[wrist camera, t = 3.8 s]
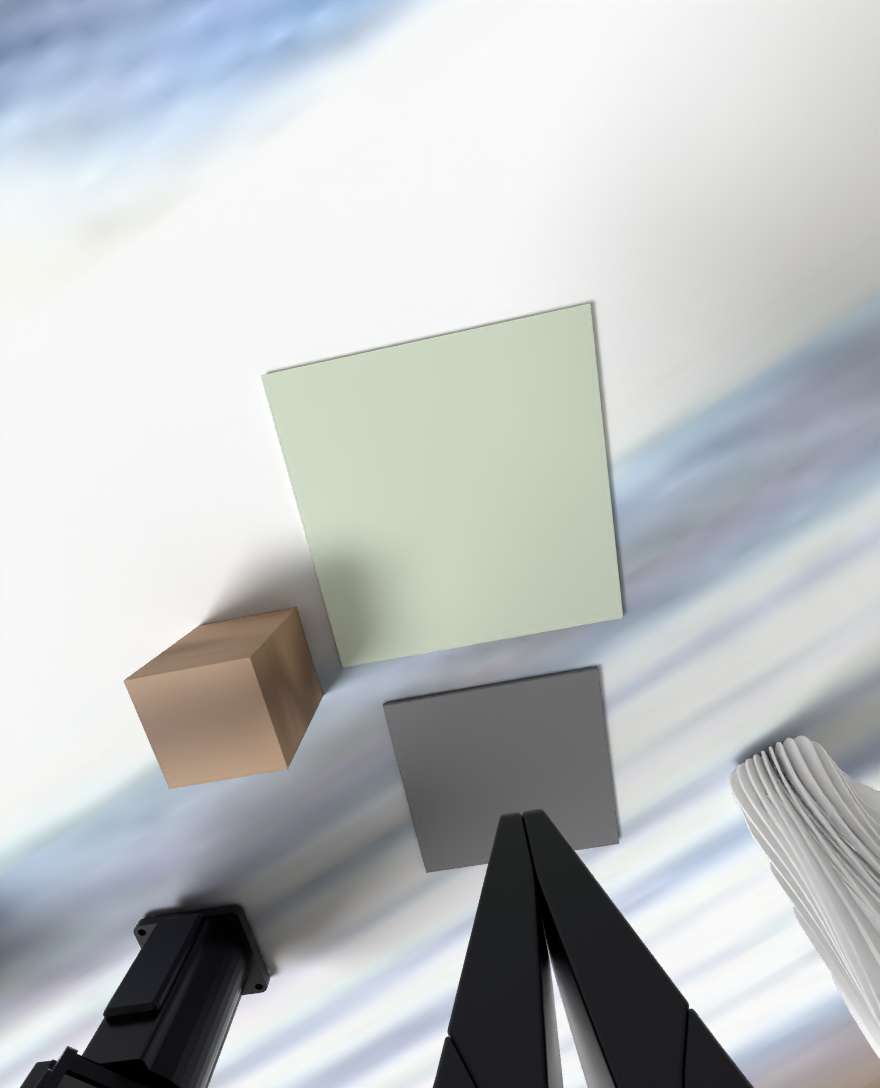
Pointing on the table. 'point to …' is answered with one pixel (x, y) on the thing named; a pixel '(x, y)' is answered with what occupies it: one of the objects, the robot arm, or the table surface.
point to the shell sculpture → (822, 861)
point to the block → (228, 698)
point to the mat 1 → (454, 486)
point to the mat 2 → (504, 764)
